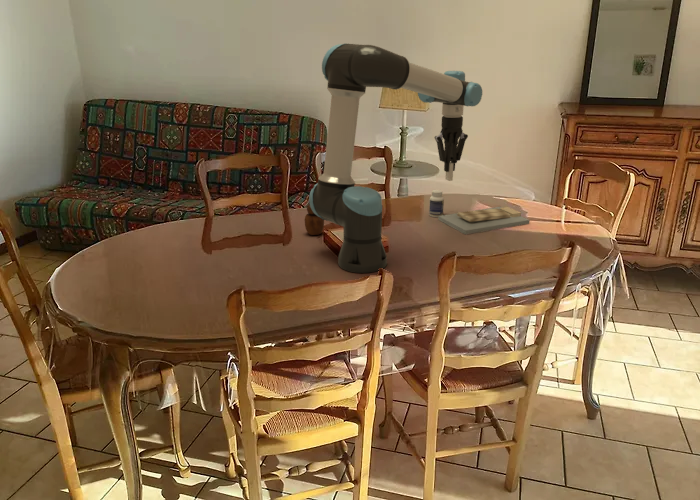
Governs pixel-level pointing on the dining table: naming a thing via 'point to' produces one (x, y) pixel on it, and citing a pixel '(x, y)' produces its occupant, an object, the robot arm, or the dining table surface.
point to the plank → (483, 215)
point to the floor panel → (484, 222)
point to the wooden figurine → (313, 222)
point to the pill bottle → (436, 204)
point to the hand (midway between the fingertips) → (448, 179)
